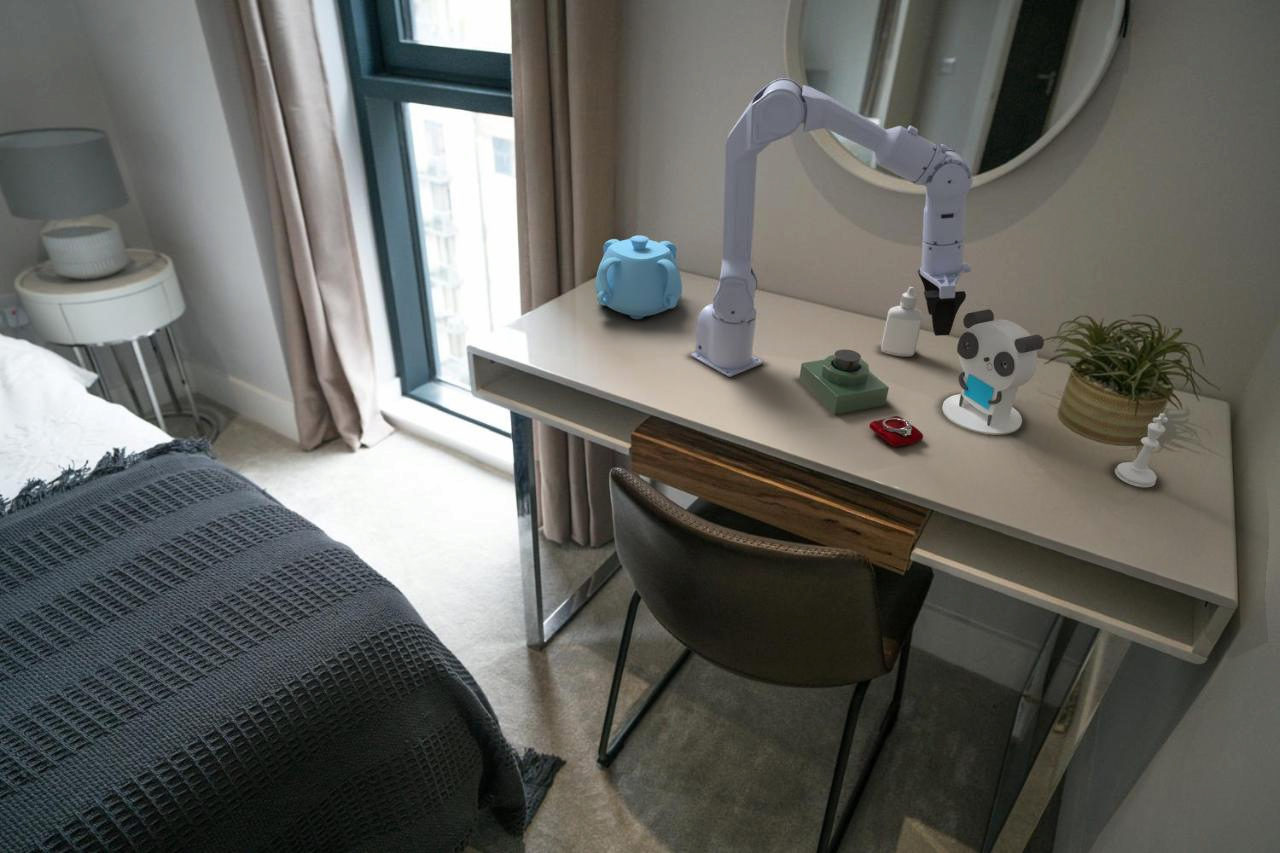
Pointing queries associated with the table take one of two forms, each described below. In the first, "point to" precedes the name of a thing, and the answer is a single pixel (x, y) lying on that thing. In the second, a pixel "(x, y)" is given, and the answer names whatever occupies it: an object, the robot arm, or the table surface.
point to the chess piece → (1143, 458)
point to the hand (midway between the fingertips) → (938, 323)
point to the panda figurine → (991, 373)
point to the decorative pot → (638, 276)
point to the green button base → (843, 386)
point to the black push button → (846, 360)
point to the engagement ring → (896, 431)
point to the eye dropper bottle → (902, 327)
